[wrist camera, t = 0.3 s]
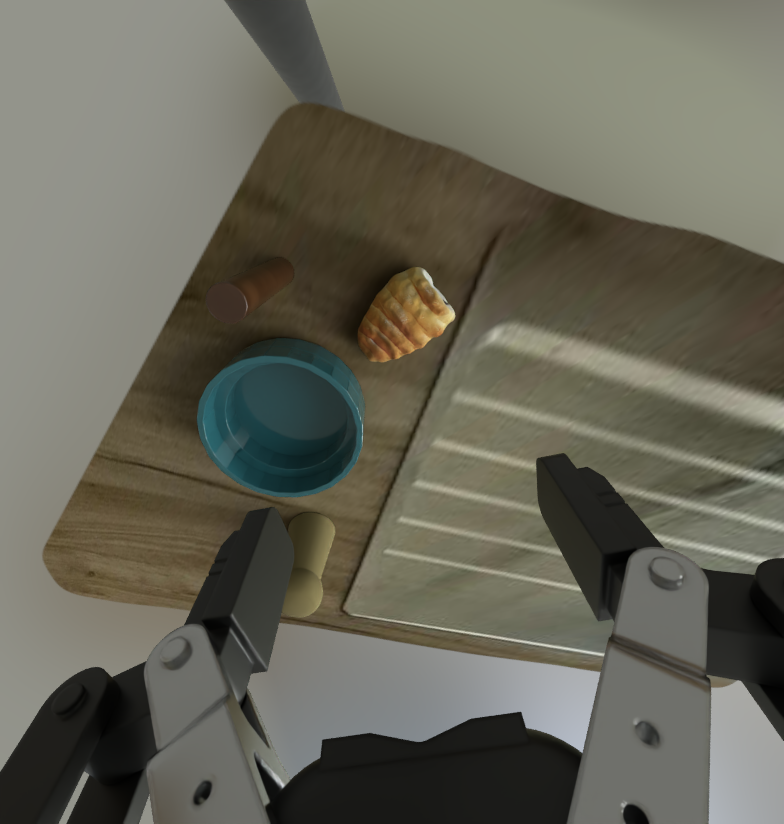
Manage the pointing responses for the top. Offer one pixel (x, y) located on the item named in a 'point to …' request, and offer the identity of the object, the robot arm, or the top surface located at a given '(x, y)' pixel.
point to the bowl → (283, 418)
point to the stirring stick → (248, 290)
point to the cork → (307, 562)
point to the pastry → (403, 316)
